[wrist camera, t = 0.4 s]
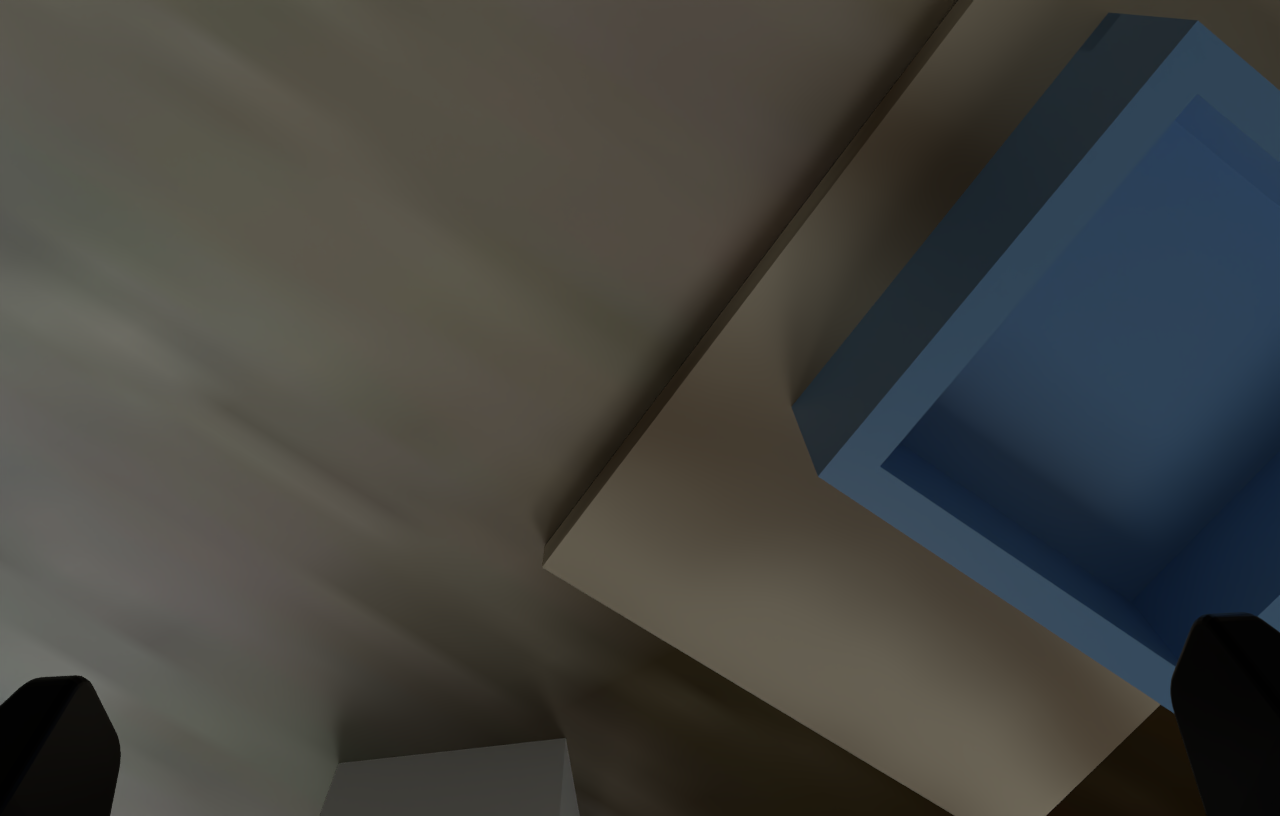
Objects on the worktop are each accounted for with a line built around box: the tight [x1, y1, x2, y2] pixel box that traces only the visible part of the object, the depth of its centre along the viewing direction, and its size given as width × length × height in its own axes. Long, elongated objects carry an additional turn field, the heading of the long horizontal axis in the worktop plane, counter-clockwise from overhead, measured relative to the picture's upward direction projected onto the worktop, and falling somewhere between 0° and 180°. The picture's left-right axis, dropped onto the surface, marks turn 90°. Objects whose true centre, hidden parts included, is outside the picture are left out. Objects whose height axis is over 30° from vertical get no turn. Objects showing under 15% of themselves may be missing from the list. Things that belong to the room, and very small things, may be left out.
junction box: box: [792, 13, 1280, 713], centre depth 22 cm, size 10×10×4 cm
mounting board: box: [542, 0, 1280, 816], centre depth 24 cm, size 22×14×1 cm, turn 145°
